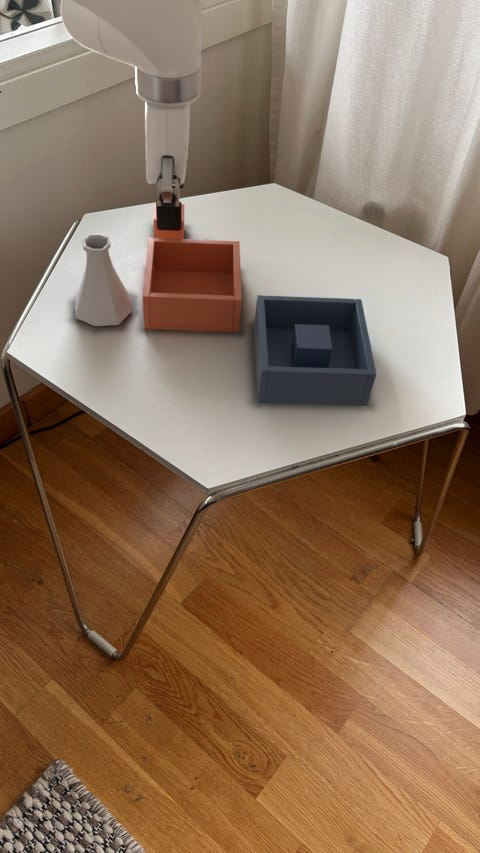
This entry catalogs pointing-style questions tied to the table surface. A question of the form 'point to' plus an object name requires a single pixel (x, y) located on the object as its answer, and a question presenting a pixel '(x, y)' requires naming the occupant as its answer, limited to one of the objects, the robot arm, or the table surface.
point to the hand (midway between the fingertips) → (170, 207)
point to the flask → (101, 287)
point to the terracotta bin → (192, 285)
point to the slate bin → (332, 385)
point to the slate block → (311, 346)
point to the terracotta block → (165, 232)
